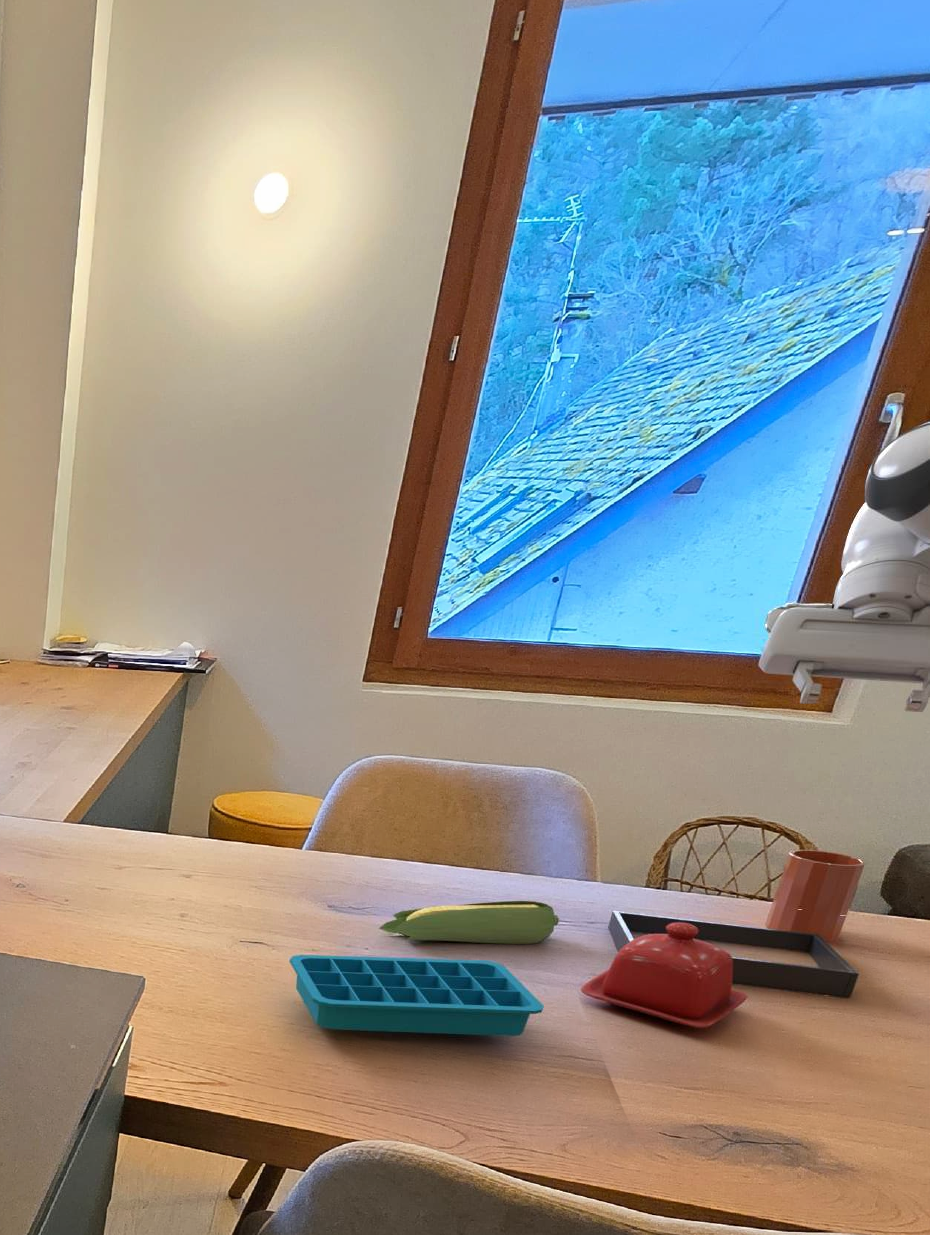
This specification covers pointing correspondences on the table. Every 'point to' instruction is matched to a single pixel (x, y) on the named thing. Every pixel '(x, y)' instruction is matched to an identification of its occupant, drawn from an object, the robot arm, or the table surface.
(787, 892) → the cup
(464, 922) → the edible corn
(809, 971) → the tray
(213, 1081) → the table surface
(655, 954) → the butter dish
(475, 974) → the ice cube tray
